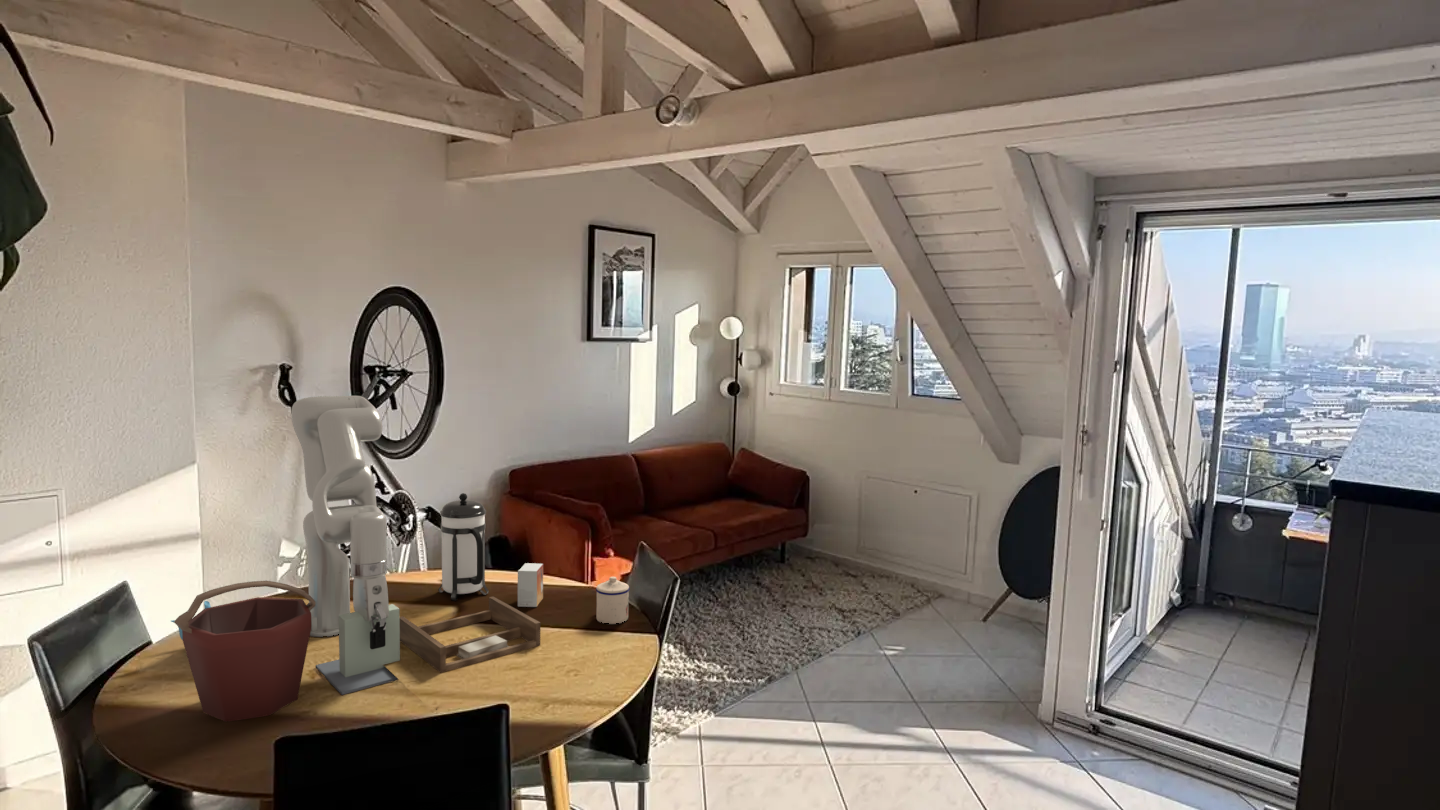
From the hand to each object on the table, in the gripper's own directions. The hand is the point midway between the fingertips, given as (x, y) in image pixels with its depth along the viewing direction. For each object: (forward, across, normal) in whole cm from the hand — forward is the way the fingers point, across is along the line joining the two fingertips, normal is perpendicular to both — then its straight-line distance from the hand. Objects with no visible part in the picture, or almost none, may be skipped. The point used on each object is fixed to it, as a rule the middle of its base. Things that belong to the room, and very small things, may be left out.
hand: (369, 641), depth 182 cm
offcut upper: (+5, -10, -23) cm, 25 cm away
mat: (+7, 0, 0) cm, 7 cm away
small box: (+7, +18, -51) cm, 55 cm away
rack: (+7, -2, -23) cm, 24 cm away
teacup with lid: (+7, -6, -62) cm, 63 cm away
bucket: (+7, 0, +24) cm, 25 cm away
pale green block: (+6, 0, 0) cm, 6 cm away
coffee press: (+7, +36, -40) cm, 54 cm away
